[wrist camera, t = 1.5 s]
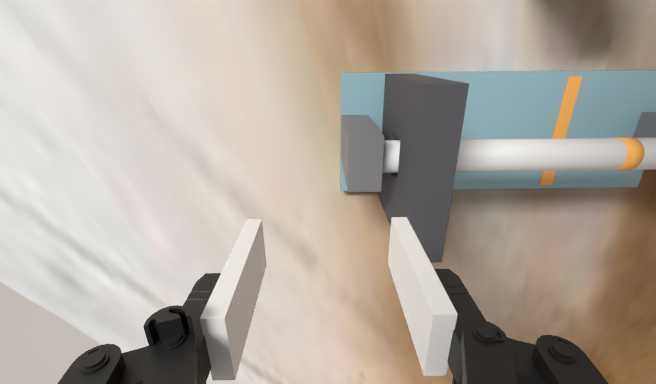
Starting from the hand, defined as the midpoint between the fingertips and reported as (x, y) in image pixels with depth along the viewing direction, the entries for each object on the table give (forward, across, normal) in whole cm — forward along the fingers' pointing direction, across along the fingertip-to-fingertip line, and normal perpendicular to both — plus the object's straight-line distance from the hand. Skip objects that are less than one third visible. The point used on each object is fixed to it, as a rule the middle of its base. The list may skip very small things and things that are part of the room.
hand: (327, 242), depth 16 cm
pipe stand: (+25, +21, 0) cm, 33 cm away
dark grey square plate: (+22, +8, 0) cm, 23 cm away
